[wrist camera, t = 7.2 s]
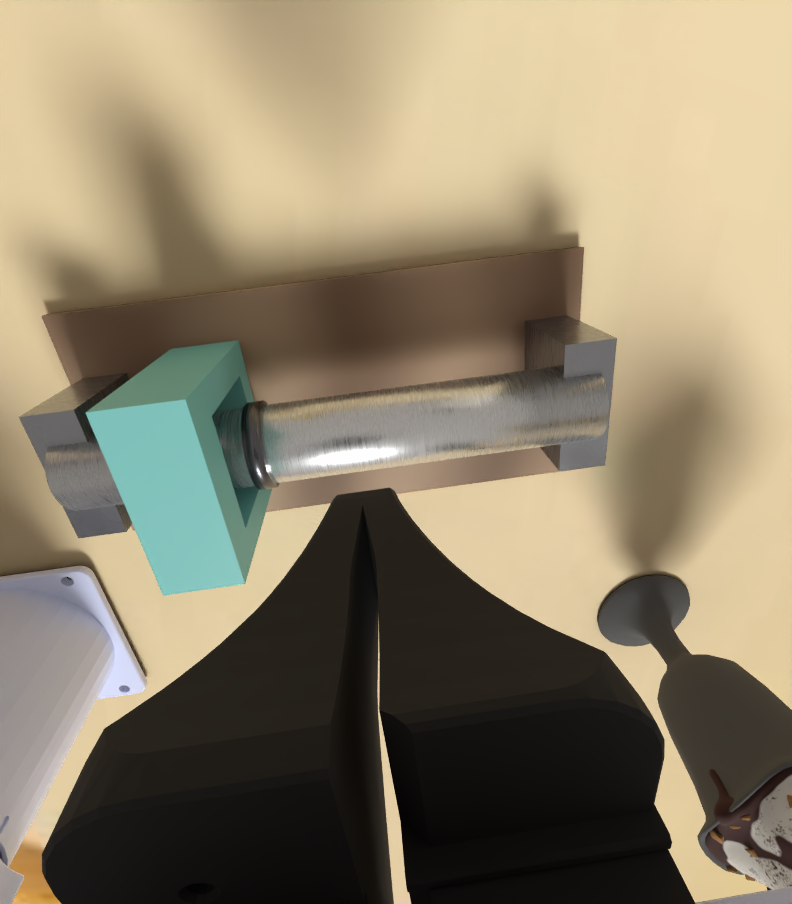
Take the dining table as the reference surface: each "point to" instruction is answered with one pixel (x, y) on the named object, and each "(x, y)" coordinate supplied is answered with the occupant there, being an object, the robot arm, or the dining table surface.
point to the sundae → (717, 733)
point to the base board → (349, 346)
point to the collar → (183, 466)
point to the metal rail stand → (360, 425)
